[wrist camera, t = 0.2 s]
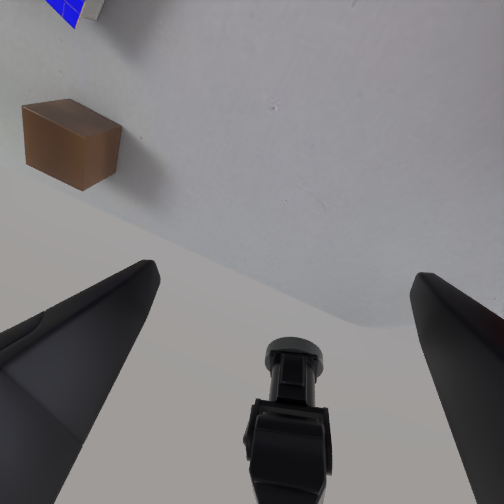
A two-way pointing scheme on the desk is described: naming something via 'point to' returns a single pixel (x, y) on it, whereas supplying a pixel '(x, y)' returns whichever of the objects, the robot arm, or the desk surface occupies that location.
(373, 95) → the desk surface
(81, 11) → the house
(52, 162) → the block
